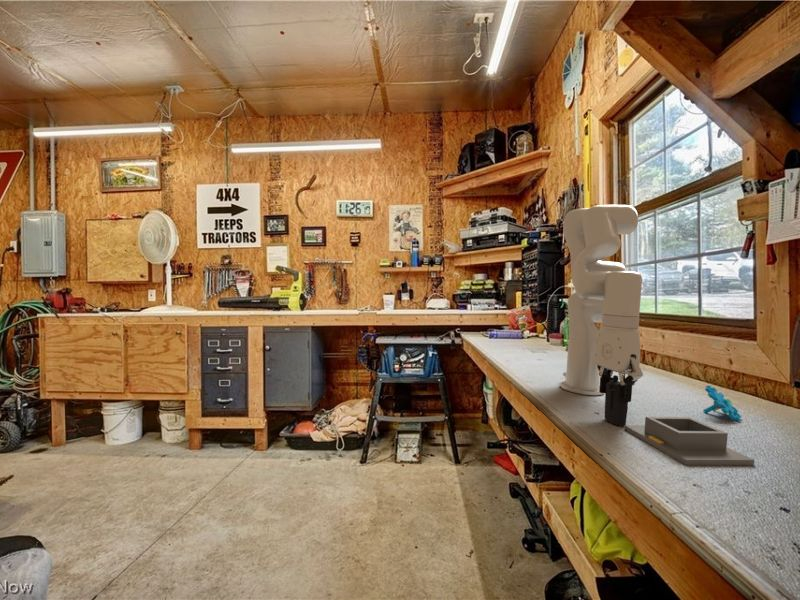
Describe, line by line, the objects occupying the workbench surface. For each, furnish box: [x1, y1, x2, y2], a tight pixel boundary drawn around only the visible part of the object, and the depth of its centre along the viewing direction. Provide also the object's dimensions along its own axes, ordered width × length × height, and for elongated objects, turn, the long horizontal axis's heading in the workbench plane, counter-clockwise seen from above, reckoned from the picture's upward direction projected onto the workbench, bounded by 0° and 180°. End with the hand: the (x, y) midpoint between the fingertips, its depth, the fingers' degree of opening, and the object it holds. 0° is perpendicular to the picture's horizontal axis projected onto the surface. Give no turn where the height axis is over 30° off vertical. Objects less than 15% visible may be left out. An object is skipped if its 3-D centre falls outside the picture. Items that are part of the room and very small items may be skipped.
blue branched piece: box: [702, 385, 742, 422], centre depth 95 cm, size 11×6×10 cm
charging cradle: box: [624, 416, 755, 466], centre depth 74 cm, size 16×14×4 cm
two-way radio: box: [604, 374, 629, 427], centre depth 85 cm, size 6×4×15 cm
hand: (614, 396), depth 85 cm, fingers closed on two-way radio, 5 cm apart
